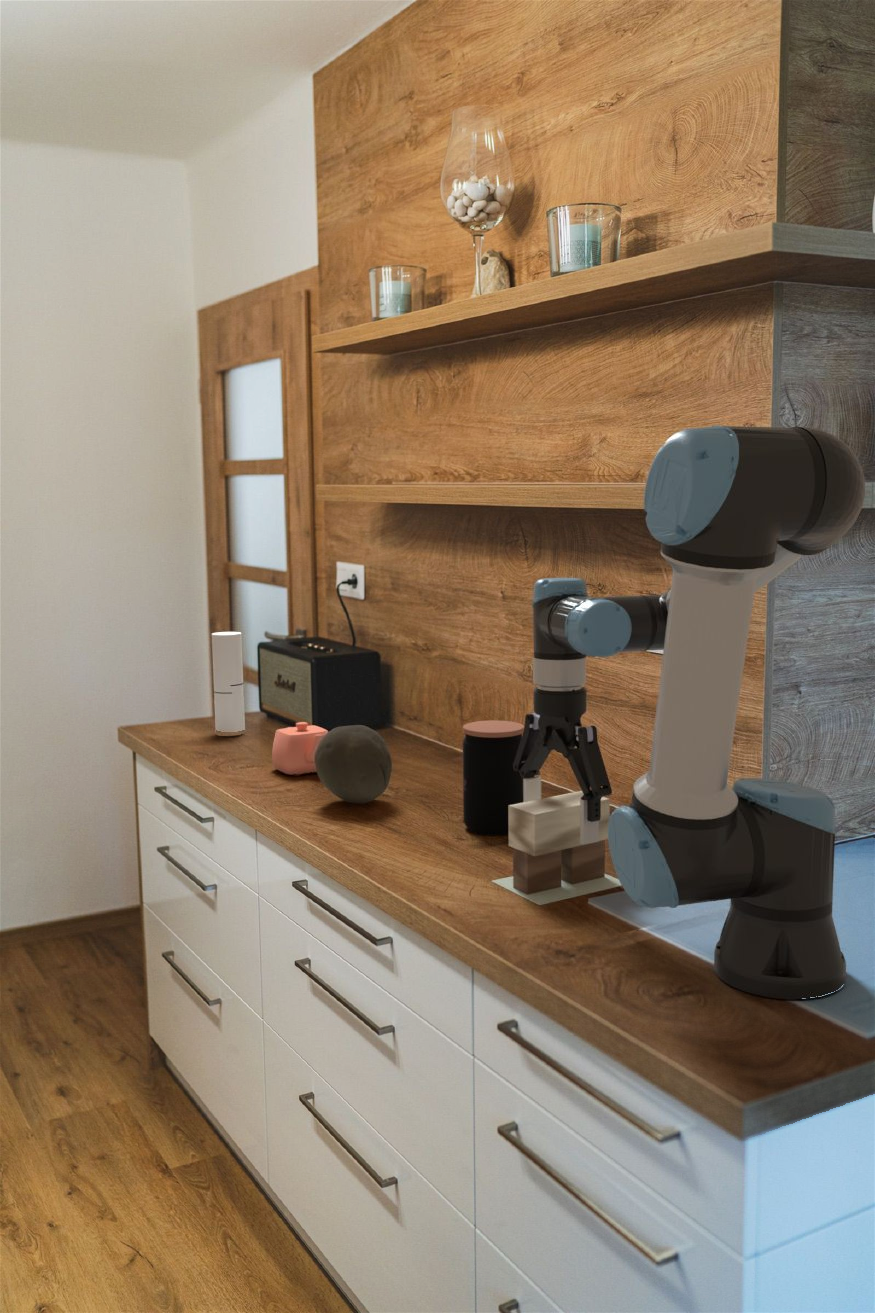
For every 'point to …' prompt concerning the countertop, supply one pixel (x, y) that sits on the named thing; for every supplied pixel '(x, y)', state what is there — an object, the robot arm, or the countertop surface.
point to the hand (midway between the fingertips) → (559, 831)
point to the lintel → (551, 823)
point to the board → (563, 889)
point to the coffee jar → (490, 775)
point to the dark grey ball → (354, 763)
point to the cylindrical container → (228, 681)
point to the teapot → (296, 748)
